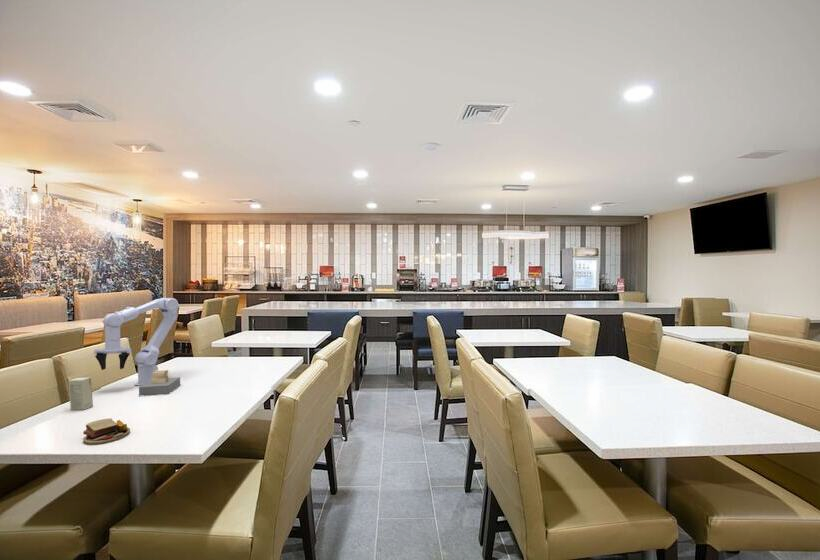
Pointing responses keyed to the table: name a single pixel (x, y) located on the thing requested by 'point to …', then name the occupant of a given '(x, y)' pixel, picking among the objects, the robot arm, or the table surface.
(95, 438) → the toy sandwich meal
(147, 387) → the flat grey base plate
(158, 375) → the birch cube
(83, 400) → the skincare box
